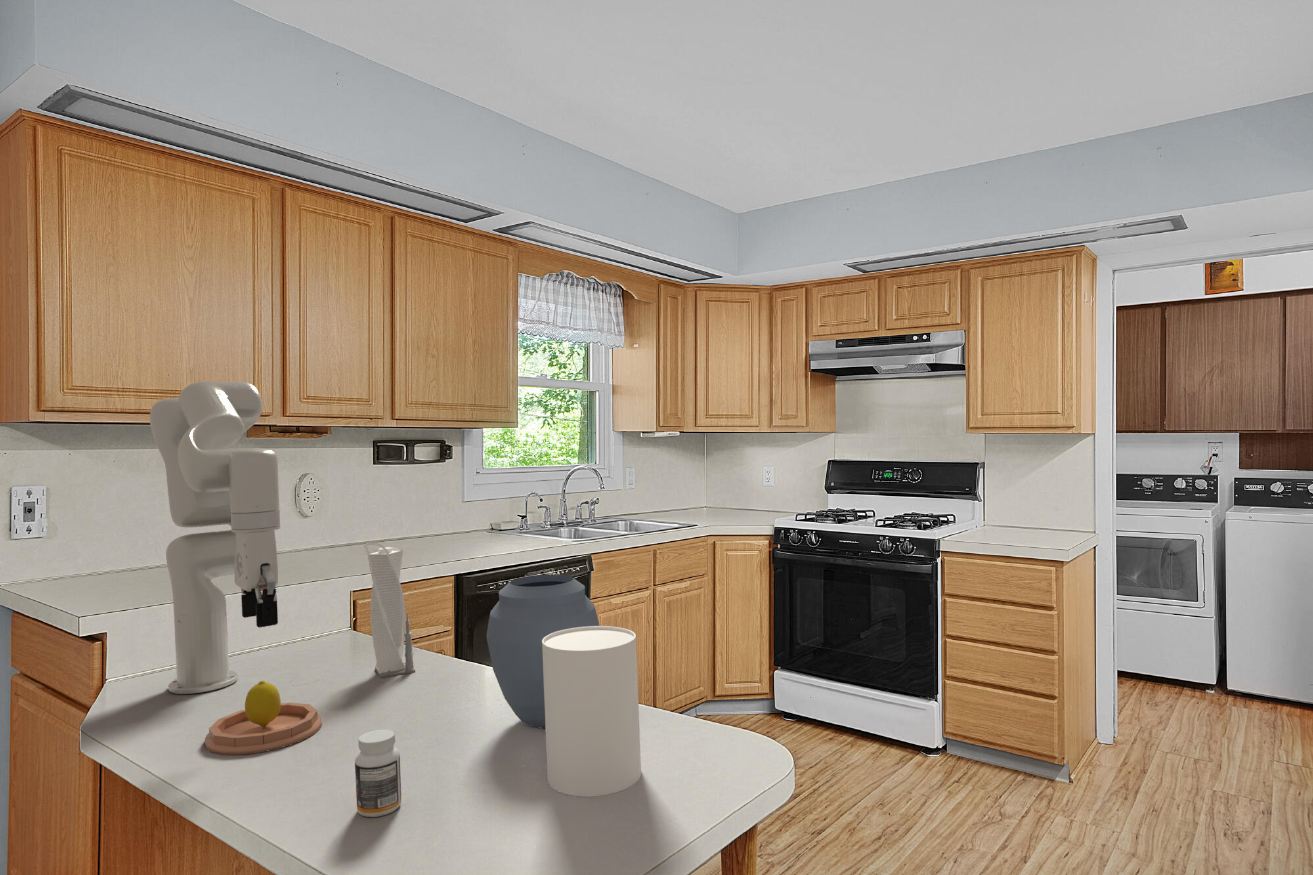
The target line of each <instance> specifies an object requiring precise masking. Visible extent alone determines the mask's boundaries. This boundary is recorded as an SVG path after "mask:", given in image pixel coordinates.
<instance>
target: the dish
mask: <svg viewBox="0 0 1313 875" xmlns="http://www.w3.org/2000/svg"><path fill="white" fill-rule="evenodd" d="M322 720H323V719H322V716H321V715H320V714H319V713H318V709H316V708H315V707H314V706H312V705H311V704H310V703H308V704H307V703H300V702H299V703H298V702H281V706H280V711H279V713H278V715H277V717H276V718H275V719H274V720H273V721H271V722H270V723H268V725H267V726H266V727H261V726H260V725H258V724H254V723H252V722H251V721H250V720H249V719H248V717H247V715H246V712H245V709H240V710H238V711H235V712H233V713H230V714H228V715H225V716H224V717H221V718H219V719H217V720H216V721H215V722H214V723H213V724H211V726H210V727H209V728H208V733H207V734H206V735H205V737H204V745H205V746H204V747H205V749H206V750H207V751H208V750H209V752H210V753H213V752H214V753H213V754H218V755H226V756H228V755H230V756H240V755H250V754H251V755H252V754H259V753H258V752H260V753H265V752H264V751H266V752H268V751H267V750H271V751H274V750H273V749H275V750H278V749H277V748H279V749H282V748H281V747H283V746H286V747H288V745H289V746H291V745H290V744H292V745H295V744H297V743H296V742H298V743H299V741H300V742H302V741H305V740H307V739H308V737H309V738H310V737H312V736H313V734H314V735H315V734H316V733H318V731H320V729H321V728H322V724H323V723H322ZM306 738H307V739H306ZM304 739H305V740H304ZM301 740H302V741H301ZM294 743H295V744H294ZM283 748H284V747H283Z"/></svg>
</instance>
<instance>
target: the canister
mask: <svg viewBox="0 0 1313 875" xmlns="http://www.w3.org/2000/svg"><path fill="white" fill-rule="evenodd" d="M542 651H543V676H544V701H545V726H546V728H545V745H546V768H547V769H546V770H547V771H546V772H547V773H546V775H547V783H548V784H549V786H550V787H551V789H554V790H555V791H556V790H557V791H556V792H559V793H560V794H564V795H569V796H575V797H598V796H601V797H602V796H607V795H612V794H615V793H618V792H622V791H624V790H626V789H629V788H631V787H632V786H633V785H635V784H636V783H637V782H638V781H639V780H640V778H641V776H642V763H641V762H642V759H641V758H642V757H641V734H640V733H641V731H640V710H639V708H640V707H639V685H638V684H639V682H638V681H639V680H638V679H639V678H638V656H637V635H636V633H635V632H634V631H633V630H630V629H627V628H624V627H619V626H610V625H609V626H608V625H600V626H588V627H577V628H570V629H565V630H561V631H557V632H554V633H551V634H549V635H547V636H546V637H544V638H543V640H542Z"/></svg>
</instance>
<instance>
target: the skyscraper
mask: <svg viewBox="0 0 1313 875" xmlns="http://www.w3.org/2000/svg"><path fill="white" fill-rule="evenodd" d="M368 546H377V547H379V548H378V549H377V551H376V552H372V553H369V549H368ZM364 549H365V552H366V555H367V560H368V565H369V570H370V574H371V581H372V587H371V593H370V594H371V595H370V607H369V608H370V609H369V610H370V613H369V614H370V628H371V637H372V642H373V643H372V644H373V649H374V654H375V655H374V656H375V660H376V663H375V666H374V670H375V672H376V674H377V675H378V676H379V677H380V678H381V679H383V678H389V677H396V676H399V675H404V674H412V673H415V672H416V669H415V666H414V660H413V659H414V658H413V657H414V651H413V641H412V636H413V635H412V634H413V632H411V629H410V623H411V622H410V621H411V620H409V612H406V605H405V604H406V603H405V597H404V596H405V595H404V591H403V588H402V584H401V581H400V577H401V569H402V562H403V552H404V550H403V548H402V547H399V546H384V545H382V544H381V543H378V542H366V543H365V544H364ZM404 645H405V646H404ZM404 647H405V648H404ZM403 655H404V657H405V662H403Z"/></svg>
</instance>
